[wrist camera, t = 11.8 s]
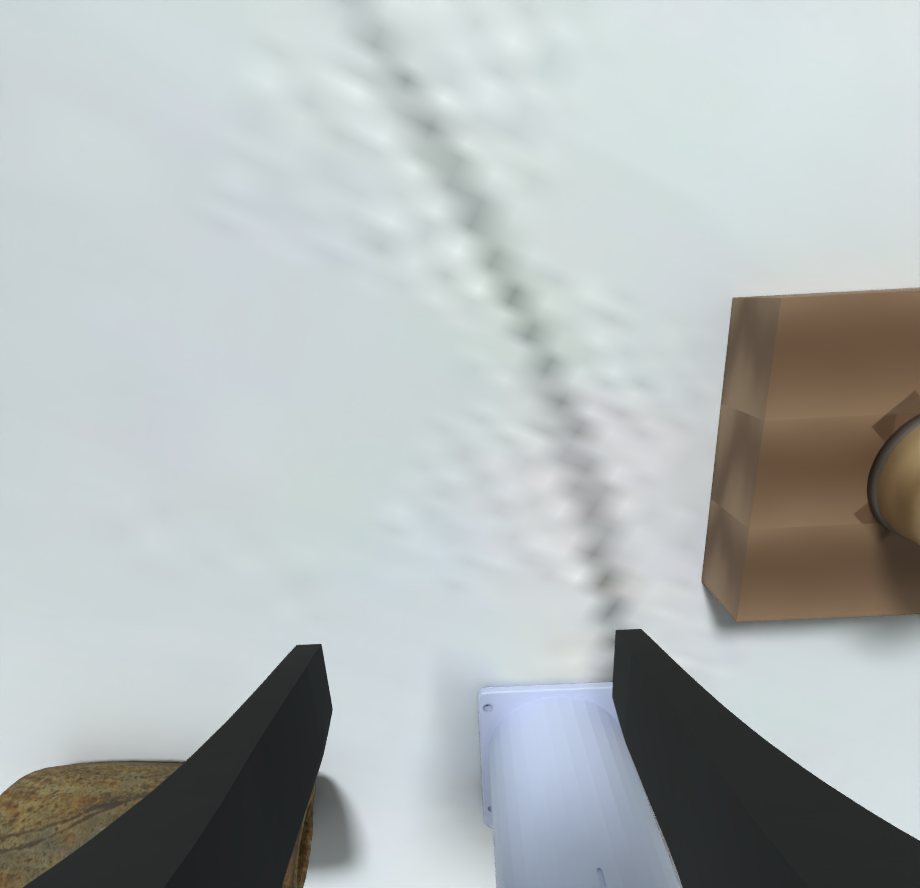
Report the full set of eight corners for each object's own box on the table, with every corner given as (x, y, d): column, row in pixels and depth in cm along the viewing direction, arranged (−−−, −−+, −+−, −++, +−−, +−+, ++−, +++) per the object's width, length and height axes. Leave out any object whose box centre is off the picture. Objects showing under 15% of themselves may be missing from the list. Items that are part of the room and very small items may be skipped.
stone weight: (75, 825, 28) (-40, 982, 21) (42, 732, 26) (-95, 875, 19) (331, 823, 28) (293, 980, 21) (320, 729, 26) (274, 872, 19)
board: (998, 567, 23) (1076, 607, 20) (701, 581, 23) (736, 621, 20) (1090, 278, 19) (1203, 274, 16) (732, 297, 19) (781, 297, 16)
